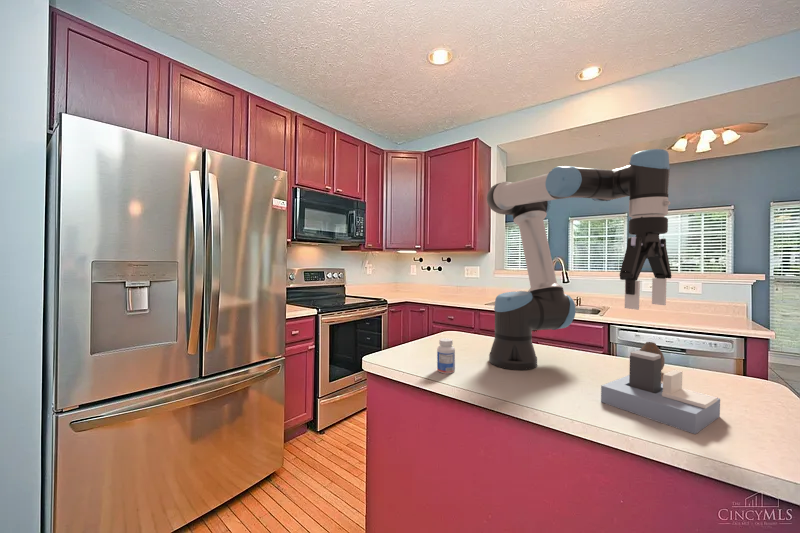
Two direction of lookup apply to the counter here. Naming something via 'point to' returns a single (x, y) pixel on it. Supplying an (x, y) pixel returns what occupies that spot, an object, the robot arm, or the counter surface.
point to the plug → (645, 371)
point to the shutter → (684, 391)
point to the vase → (653, 351)
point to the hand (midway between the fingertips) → (645, 306)
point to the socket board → (658, 406)
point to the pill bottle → (446, 356)
